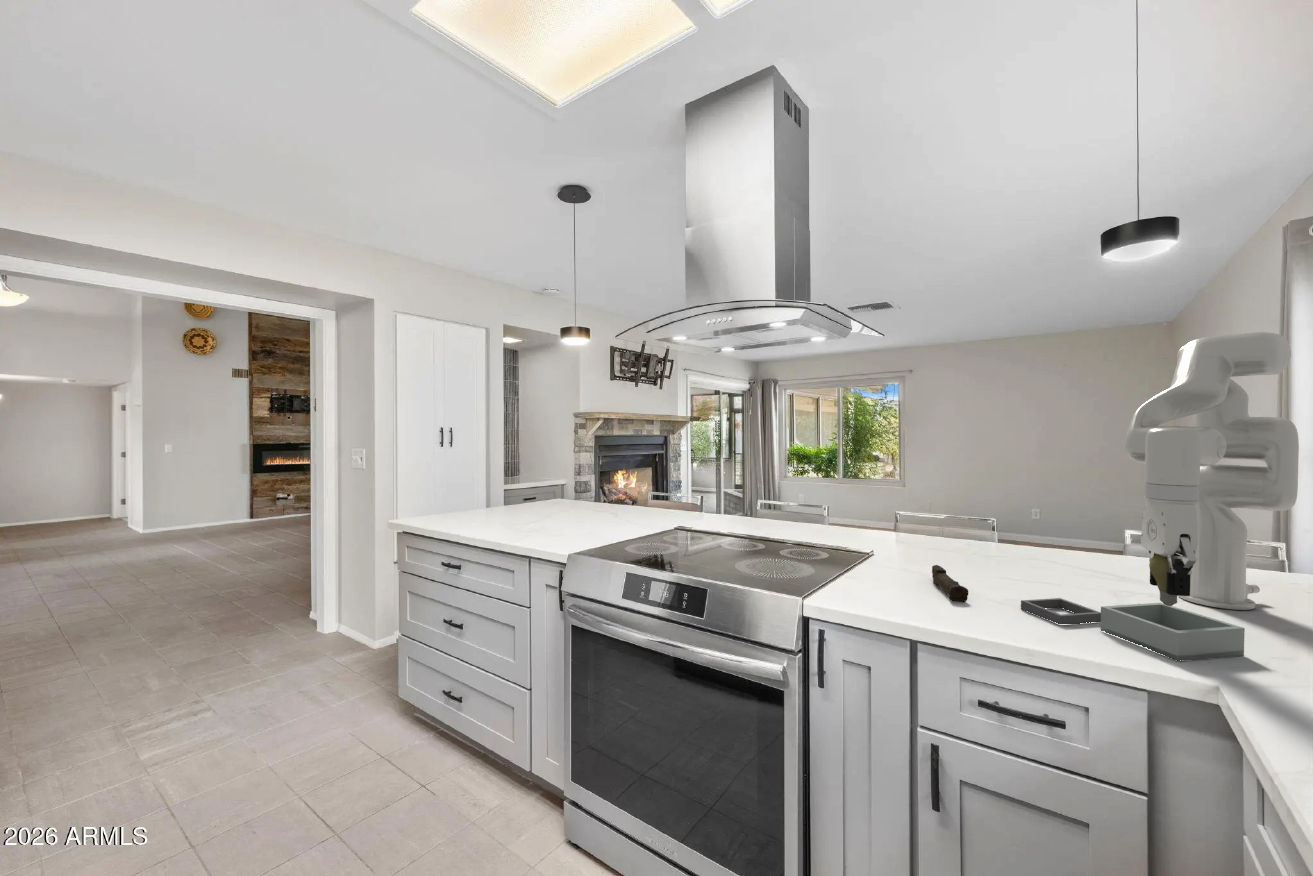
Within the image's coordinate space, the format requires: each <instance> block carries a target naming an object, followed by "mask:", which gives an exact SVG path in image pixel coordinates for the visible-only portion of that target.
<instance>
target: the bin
mask: <svg viewBox="0 0 1313 876" xmlns="http://www.w3.org/2000/svg"><path fill="white" fill-rule="evenodd" d="M1100 612H1101V623H1100V630H1101V631H1105V632H1106V633H1109V634H1112V635H1115V636H1118V637H1120V638H1123V639H1125V640H1128V641H1130V642H1133V643H1135V644H1138V645H1142V646H1143V647H1147V648H1148V649H1151V650H1152V651H1155V652H1157V653H1160V654H1163V655H1165V656H1167V657H1169V658H1168V659H1170V658H1172V659H1173V661H1175V660H1177V661H1180V660H1181V661H1180V662H1183V661H1182V660H1192V661H1201V660H1200V659H1203V660H1211V658H1213V659H1214V658H1215V659H1223V658H1224V659H1225V658H1235V657H1244V656H1245V627H1242V626H1238V625H1236V624H1232V623H1230V622H1225V621H1223V620H1219V619H1216V618H1212V617H1210V616H1207V615H1202V614H1199V613H1196V612H1193V611H1189V610H1188V609H1186V610H1185V609H1183V608H1180V607H1176V606H1174V605H1172V606H1167V605H1165V604H1164V603H1163V602H1149V603H1148V602H1147V603H1135V604H1132V603H1131V604H1121V605H1120V604H1119V605H1106V606H1105V605H1103V606H1100ZM1101 631H1100V632H1101ZM1106 633H1105V634H1106ZM1152 651H1151V652H1152ZM1157 653H1156V654H1157ZM1167 657H1166V658H1167ZM1209 658H1210V659H1209ZM1172 659H1171V660H1172ZM1198 659H1199V660H1198ZM1213 659H1212V660H1213ZM1177 661H1176V662H1177Z"/></svg>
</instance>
